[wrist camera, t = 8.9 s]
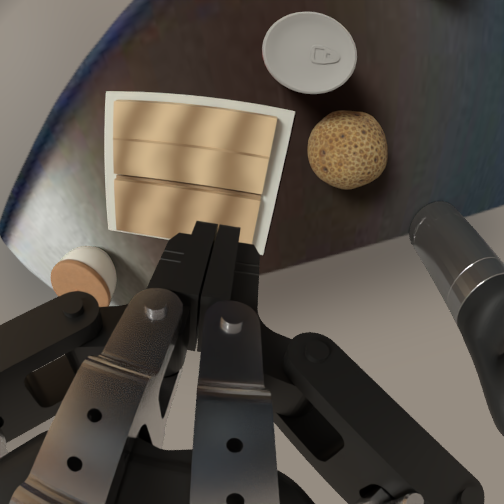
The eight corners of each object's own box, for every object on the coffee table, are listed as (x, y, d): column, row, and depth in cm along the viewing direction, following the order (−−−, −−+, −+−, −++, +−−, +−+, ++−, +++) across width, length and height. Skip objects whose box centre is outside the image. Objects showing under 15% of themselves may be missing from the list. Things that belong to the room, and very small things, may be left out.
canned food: (337, 81, 32) (363, 90, 23) (270, 90, 33) (272, 101, 24) (325, 22, 28) (348, 7, 19) (257, 30, 29) (253, 17, 20)
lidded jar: (105, 294, 53) (85, 331, 45) (62, 256, 48) (37, 290, 41) (137, 267, 49) (117, 306, 41) (90, 222, 44) (61, 257, 37)
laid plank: (261, 194, 41) (261, 198, 40) (250, 247, 45) (250, 251, 44) (117, 174, 39) (113, 177, 38) (119, 225, 44) (116, 230, 43)
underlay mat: (295, 111, 34) (295, 111, 34) (263, 254, 46) (263, 255, 46) (106, 91, 33) (106, 91, 33) (109, 229, 45) (108, 229, 45)
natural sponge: (344, 88, 32) (369, 98, 24) (385, 143, 36) (417, 170, 27) (287, 133, 36) (294, 157, 28) (332, 184, 39) (349, 220, 31)
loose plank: (277, 116, 34) (277, 118, 33) (262, 190, 40) (261, 194, 39) (117, 99, 33) (113, 101, 32) (117, 170, 39) (113, 173, 38)
